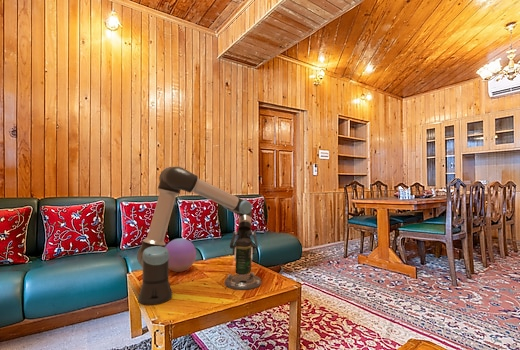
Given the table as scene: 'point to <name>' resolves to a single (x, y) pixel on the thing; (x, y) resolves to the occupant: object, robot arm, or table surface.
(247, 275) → the lug base plate
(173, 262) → the ball
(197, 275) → the table surface
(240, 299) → the table surface
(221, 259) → the table surface
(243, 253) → the coffee jar
